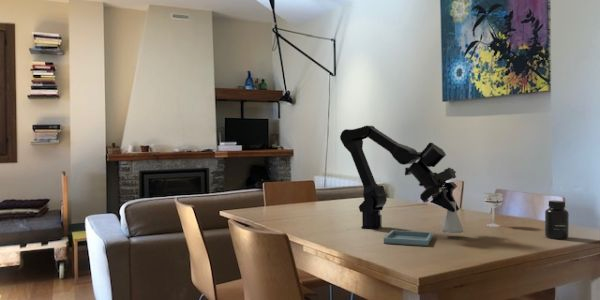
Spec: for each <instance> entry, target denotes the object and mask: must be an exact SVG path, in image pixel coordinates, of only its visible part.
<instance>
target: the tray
mask: <svg viewBox="0 0 600 300" xmlns="http://www.w3.org/2000/svg"><path fill="white" fill-rule="evenodd" d="M432 240H433V232H429V231H412V230H411V231H410V230H408V231H407V230H394V229H392V230H391V231H389V233H388V234H386V235H385V236H384V237H383V244H384V245H385V244H386V245H387V244H388V245H398V246H399V245H402V246H412V247H413V246H414V247H429V245H430V243H431V241H432Z"/></svg>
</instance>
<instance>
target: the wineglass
mask: <svg viewBox="0 0 600 300" xmlns="http://www.w3.org/2000/svg"><path fill="white" fill-rule="evenodd" d="M483 195H484V197H483V202H484V204H485V205H486V206H487V207H489V208H490V209H492V223H489V224H486V226H488V227H491V228H492V227H494V228H498V227H501V225H500V224H497V223H495V209H496V208H498V207H500V206H501V205H502V204H503V201H504V197H503V193H501V192H500V193H497V192H487V193H485V192H484V193H483Z"/></svg>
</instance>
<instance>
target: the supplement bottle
mask: <svg viewBox="0 0 600 300" xmlns="http://www.w3.org/2000/svg"><path fill="white" fill-rule="evenodd" d="M547 206H548V208H547V209H545V212H544V236H545V237H546V238H547V239H553V240H568V238H569V233H570V232H569V227H570V222H569V221H570V220H569V219H570V217H569V216H570V214H569V211H568V210H567V209H566V201H565V200H564V201H563V200H548V205H547Z"/></svg>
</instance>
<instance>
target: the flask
mask: <svg viewBox="0 0 600 300" xmlns="http://www.w3.org/2000/svg"><path fill="white" fill-rule="evenodd" d="M450 203H451V204H452V205H453V207H454V209H455V211H454V212H451V211H449V210H447V209H446V210H447V211H446V215H445V219H444V221H443V224H442V226H441V232H443V233H448V234H461V233H464V229H463V226H462V222H461V221H460V218H459V215H458V211H456V204H457V203H458V202H457V201H456V202H450ZM457 205H458V204H457Z"/></svg>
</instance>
